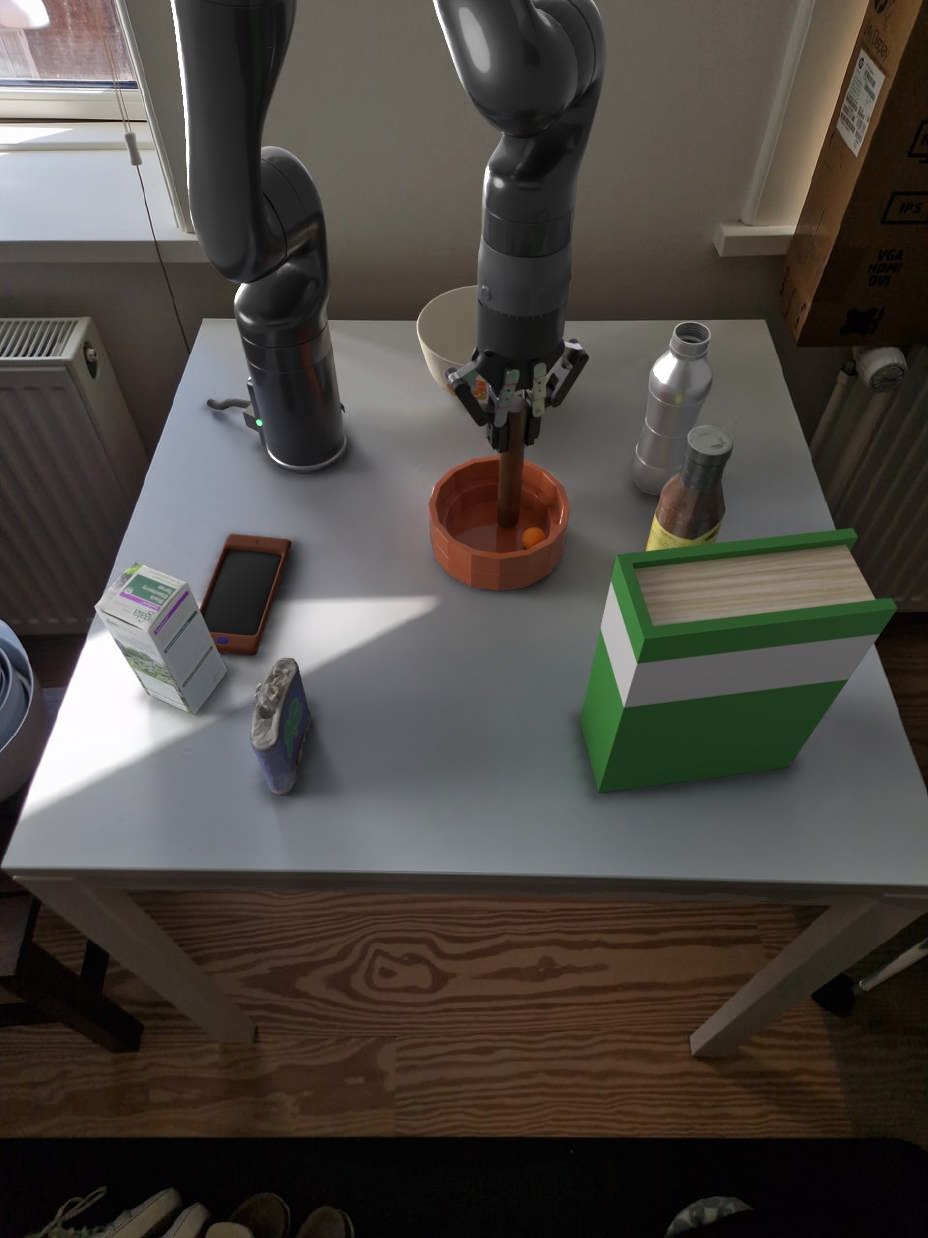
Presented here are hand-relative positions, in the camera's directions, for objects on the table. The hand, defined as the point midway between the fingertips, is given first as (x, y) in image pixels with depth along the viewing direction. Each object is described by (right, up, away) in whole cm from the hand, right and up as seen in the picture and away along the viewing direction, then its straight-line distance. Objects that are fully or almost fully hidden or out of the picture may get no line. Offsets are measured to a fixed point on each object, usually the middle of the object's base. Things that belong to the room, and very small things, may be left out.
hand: (512, 443), depth 84 cm
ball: (+3, -9, +7) cm, 11 cm away
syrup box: (-31, -24, -1) cm, 39 cm away
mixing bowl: (-1, -9, +9) cm, 13 cm away
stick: (0, -6, +9) cm, 11 cm away
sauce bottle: (+17, -14, +6) cm, 22 cm away
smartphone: (-28, -15, +5) cm, 32 cm away
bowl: (-2, +11, +24) cm, 27 cm away
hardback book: (+15, -29, -5) cm, 33 cm away
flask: (-21, -29, -5) cm, 36 cm away
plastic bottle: (+17, -1, +15) cm, 23 cm away
